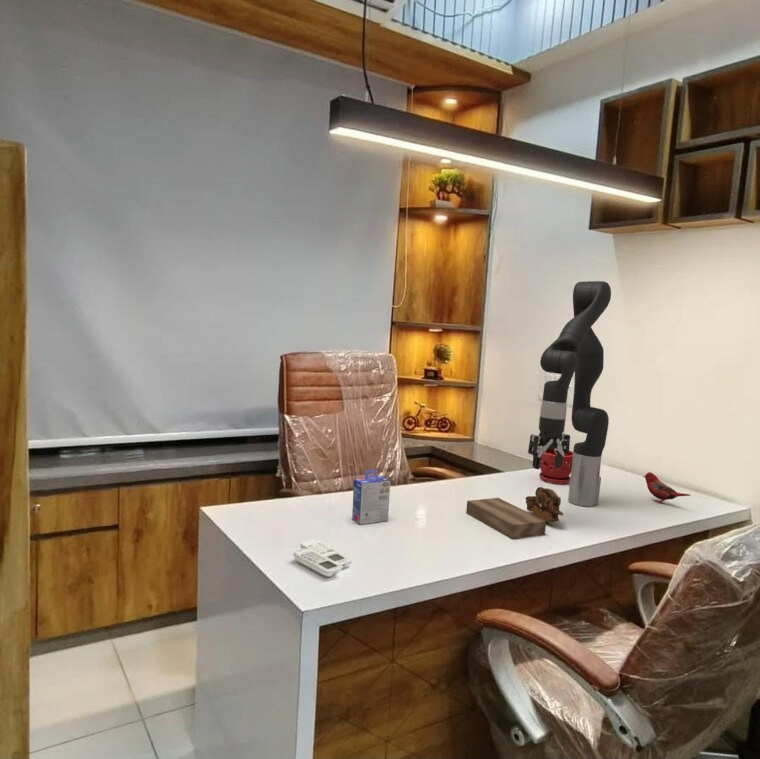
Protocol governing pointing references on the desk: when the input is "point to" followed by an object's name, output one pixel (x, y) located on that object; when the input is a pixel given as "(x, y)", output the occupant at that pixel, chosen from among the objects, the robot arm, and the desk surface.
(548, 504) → the wooden carving
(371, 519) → the ink cartridge box
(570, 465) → the plant pot
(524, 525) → the walnut plinth
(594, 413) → the robot arm
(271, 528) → the desk surface
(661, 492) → the decorative bird figurine
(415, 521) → the desk surface
